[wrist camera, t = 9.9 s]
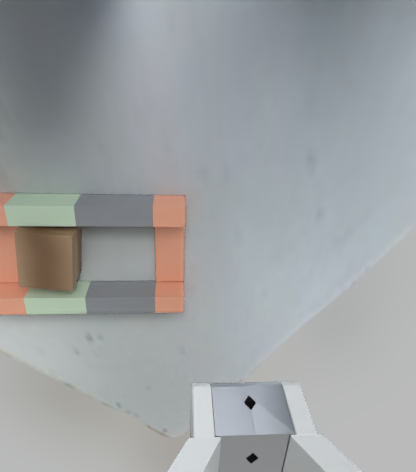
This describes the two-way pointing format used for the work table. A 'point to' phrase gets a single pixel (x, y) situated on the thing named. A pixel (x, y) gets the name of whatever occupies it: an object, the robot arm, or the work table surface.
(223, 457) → the robot arm
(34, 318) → the work table surface
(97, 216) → the multicolored rectangular frame
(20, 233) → the walnut block
